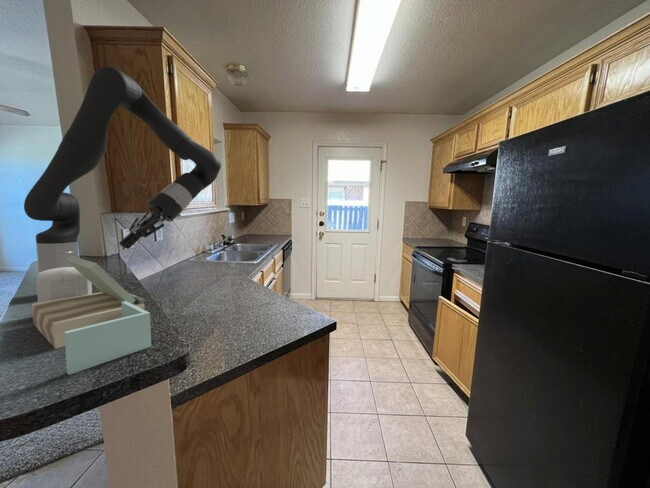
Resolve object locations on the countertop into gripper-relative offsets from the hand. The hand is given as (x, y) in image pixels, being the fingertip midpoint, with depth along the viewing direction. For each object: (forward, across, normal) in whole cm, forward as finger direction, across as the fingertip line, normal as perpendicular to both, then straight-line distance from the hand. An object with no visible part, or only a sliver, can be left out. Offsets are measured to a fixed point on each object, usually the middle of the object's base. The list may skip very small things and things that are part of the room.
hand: (123, 246), depth 67 cm
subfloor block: (+18, 0, +8) cm, 20 cm away
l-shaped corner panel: (+20, +17, +6) cm, 28 cm away
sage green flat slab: (+10, 0, +2) cm, 10 cm away
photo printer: (+19, -13, +7) cm, 24 cm away
